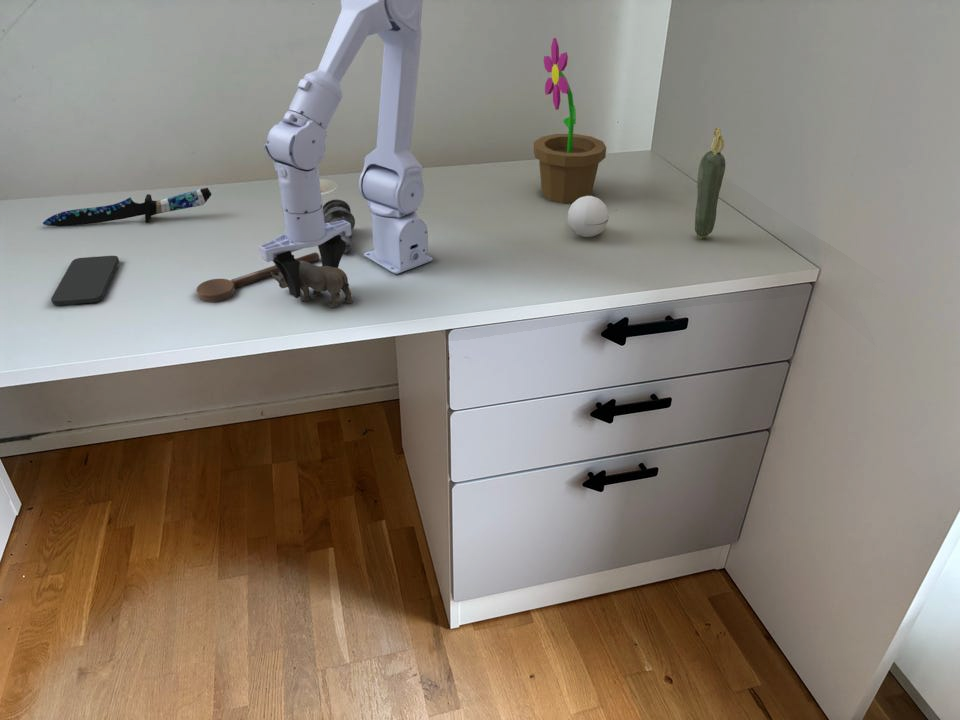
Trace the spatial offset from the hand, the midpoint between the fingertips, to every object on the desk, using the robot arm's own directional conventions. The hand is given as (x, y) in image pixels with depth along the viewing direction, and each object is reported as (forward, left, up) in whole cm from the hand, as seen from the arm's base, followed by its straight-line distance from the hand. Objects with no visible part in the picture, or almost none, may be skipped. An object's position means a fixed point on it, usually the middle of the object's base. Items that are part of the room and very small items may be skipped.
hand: (313, 288), depth 119 cm
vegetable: (-27, -64, -2) cm, 69 cm away
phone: (+28, +25, -1) cm, 38 cm away
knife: (+48, +10, -2) cm, 49 cm away
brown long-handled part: (+11, +4, -1) cm, 12 cm away
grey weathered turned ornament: (+19, -17, +2) cm, 26 cm away
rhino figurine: (0, 0, -2) cm, 2 cm away
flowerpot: (+4, -62, -2) cm, 62 cm away
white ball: (-13, -51, -2) cm, 53 cm away
